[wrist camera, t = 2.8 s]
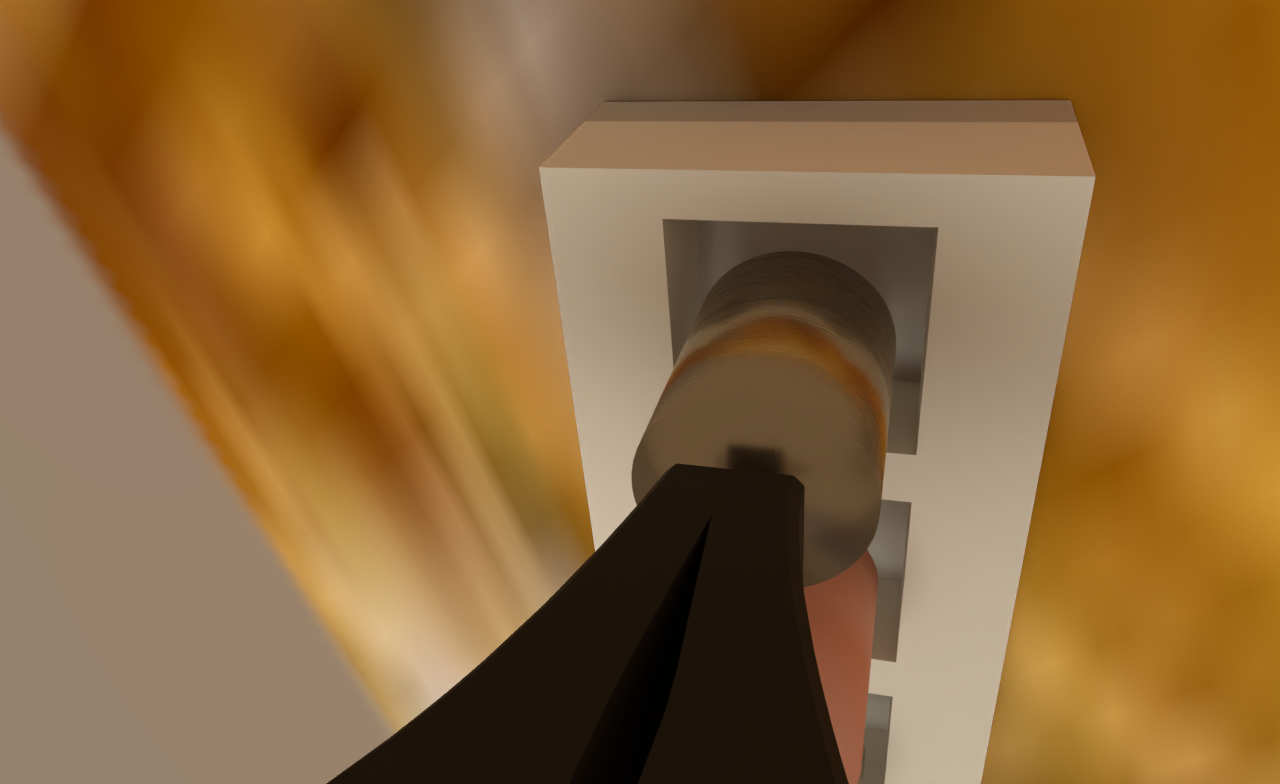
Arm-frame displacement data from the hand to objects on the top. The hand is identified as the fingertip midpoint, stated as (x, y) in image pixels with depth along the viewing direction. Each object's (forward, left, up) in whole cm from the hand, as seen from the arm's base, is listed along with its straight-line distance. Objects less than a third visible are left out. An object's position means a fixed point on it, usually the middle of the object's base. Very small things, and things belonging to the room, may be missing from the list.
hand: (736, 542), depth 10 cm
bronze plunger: (0, 0, -4) cm, 4 cm away
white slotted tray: (0, +5, -7) cm, 9 cm away
